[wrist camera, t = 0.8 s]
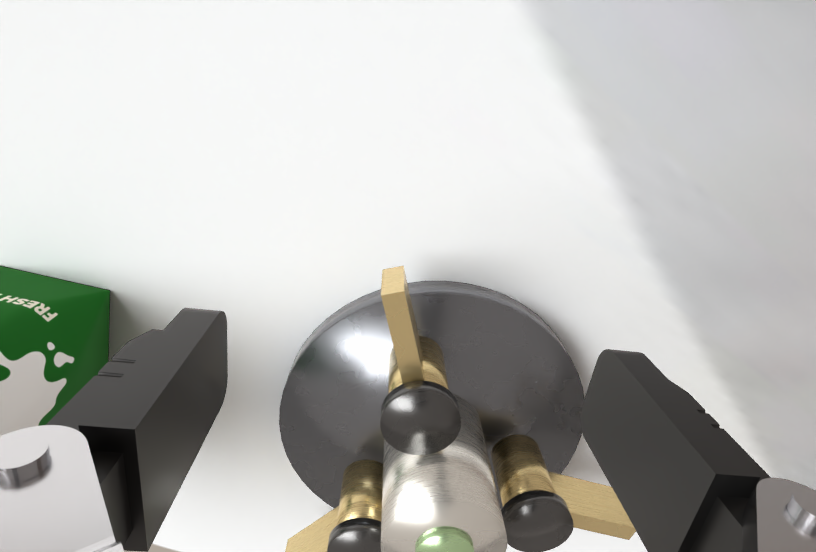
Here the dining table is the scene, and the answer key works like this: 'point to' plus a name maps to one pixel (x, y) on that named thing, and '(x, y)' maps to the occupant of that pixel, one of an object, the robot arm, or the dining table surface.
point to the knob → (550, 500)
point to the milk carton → (47, 344)
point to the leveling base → (473, 370)
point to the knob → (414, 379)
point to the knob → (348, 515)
